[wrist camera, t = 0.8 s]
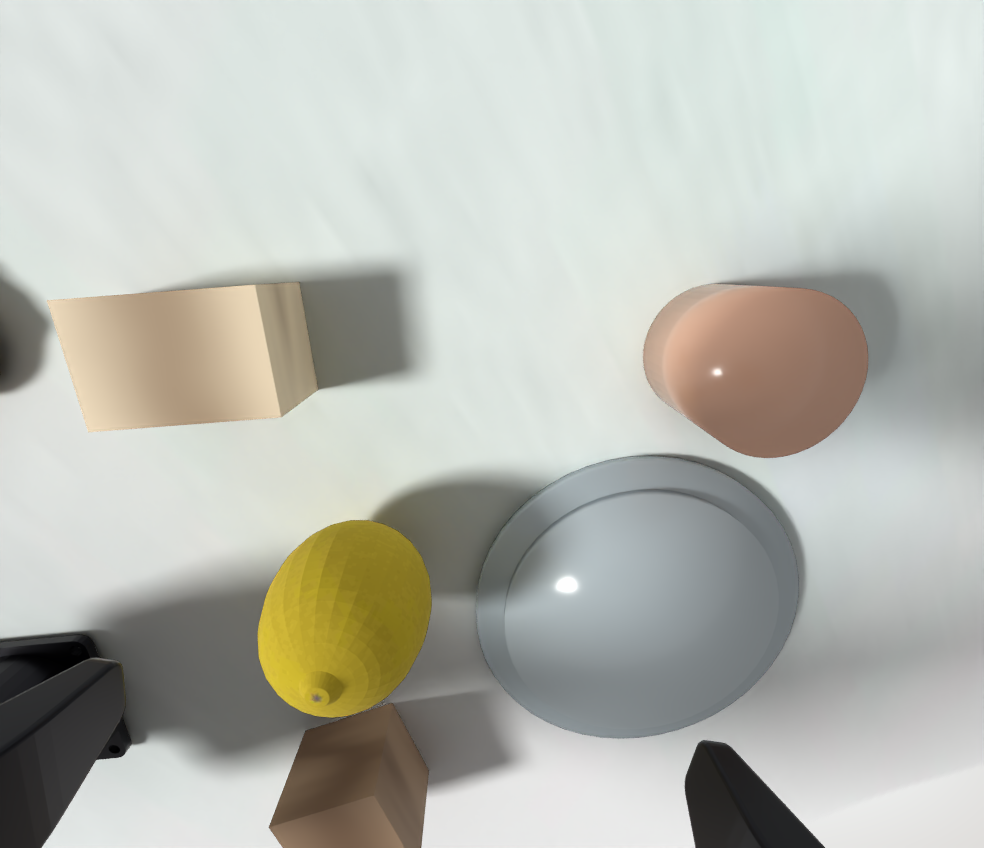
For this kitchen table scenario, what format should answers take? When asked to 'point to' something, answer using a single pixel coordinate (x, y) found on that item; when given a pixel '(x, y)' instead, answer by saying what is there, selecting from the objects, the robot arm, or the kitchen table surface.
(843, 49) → the kitchen table surface
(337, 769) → the walnut block
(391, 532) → the lemon
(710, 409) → the pink cylinder
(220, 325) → the beech block
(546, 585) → the plate
